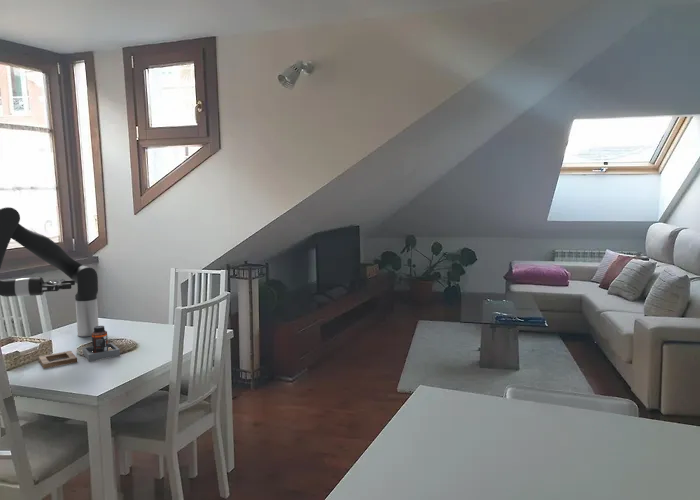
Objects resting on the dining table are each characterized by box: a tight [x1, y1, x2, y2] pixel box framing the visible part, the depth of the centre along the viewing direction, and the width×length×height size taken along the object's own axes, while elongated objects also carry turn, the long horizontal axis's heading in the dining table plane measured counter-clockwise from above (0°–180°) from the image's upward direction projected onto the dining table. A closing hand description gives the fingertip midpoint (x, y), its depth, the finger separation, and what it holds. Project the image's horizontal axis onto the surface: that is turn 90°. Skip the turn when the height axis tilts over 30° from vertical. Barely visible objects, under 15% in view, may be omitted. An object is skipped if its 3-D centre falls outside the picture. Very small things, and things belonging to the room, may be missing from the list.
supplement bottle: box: [91, 325, 109, 353], centre depth 222 cm, size 6×6×11 cm
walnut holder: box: [38, 350, 78, 369], centre depth 214 cm, size 12×12×2 cm
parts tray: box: [81, 342, 121, 362], centre depth 223 cm, size 12×12×3 cm
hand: (73, 284), depth 223 cm, fingers open, 8 cm apart
